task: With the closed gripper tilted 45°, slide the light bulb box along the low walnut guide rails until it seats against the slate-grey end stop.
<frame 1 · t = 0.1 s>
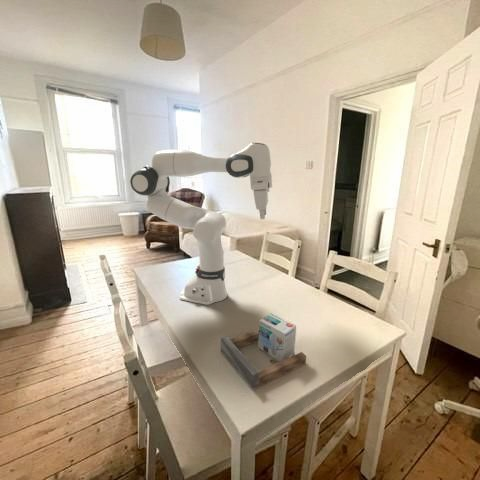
hand: (263, 216, 114), 39 cm above the table, tool pointing down, fingers open, 8 cm apart
light bulb box: (275, 351, 90), on the table
guide dock: (251, 361, 85), on the table
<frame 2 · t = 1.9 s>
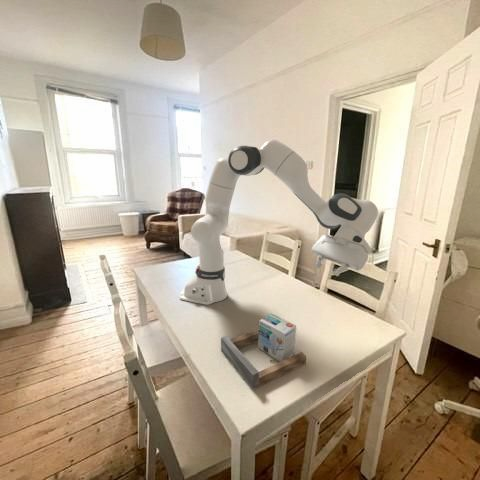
hand: (325, 270, 93), 25 cm above the table, tool tilted 45°, fingers open, 7 cm apart
nothing on the table moved.
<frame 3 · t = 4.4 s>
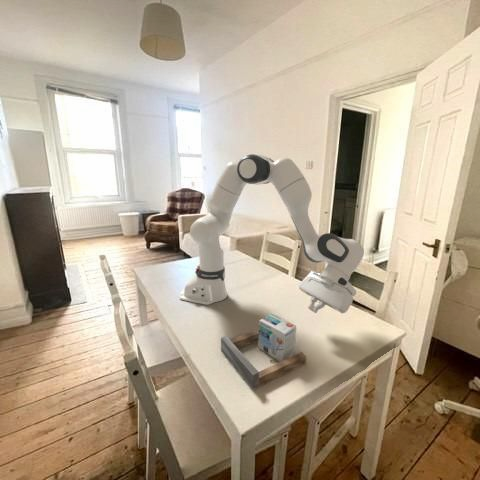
hand: (311, 310, 95), 11 cm above the table, tool tilted 45°, fingers closed
nothing on the table moved.
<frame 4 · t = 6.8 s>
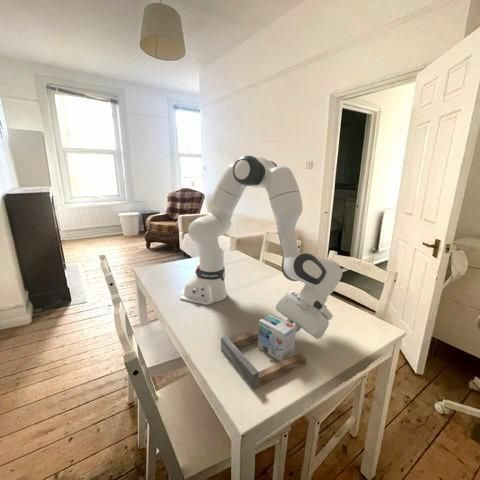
hand: (286, 334, 91), 5 cm above the table, tool tilted 45°, fingers closed
light bulb box: (275, 351, 90), on the table, touching gripper
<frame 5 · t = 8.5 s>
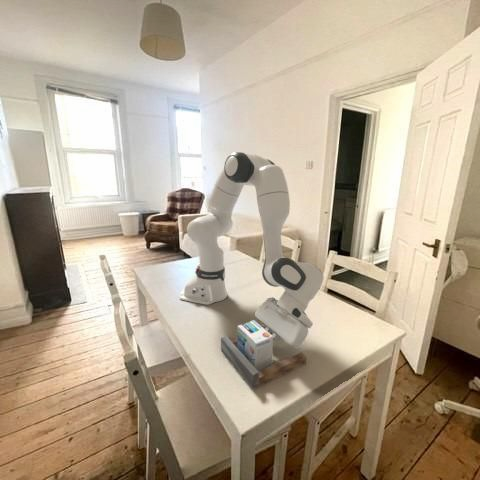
hand: (264, 343, 86), 5 cm above the table, tool tilted 45°, fingers closed, pressing on light bulb box
light bulb box: (254, 360, 85), on the table, touching gripper
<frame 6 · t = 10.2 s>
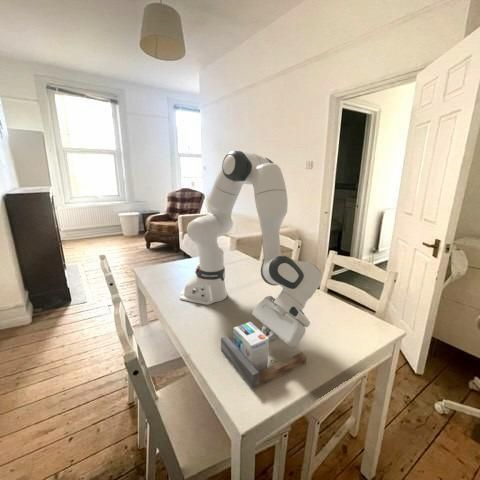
hand: (261, 341, 85), 6 cm above the table, tool tilted 45°, fingers closed
light bulb box: (249, 362, 85), on the table
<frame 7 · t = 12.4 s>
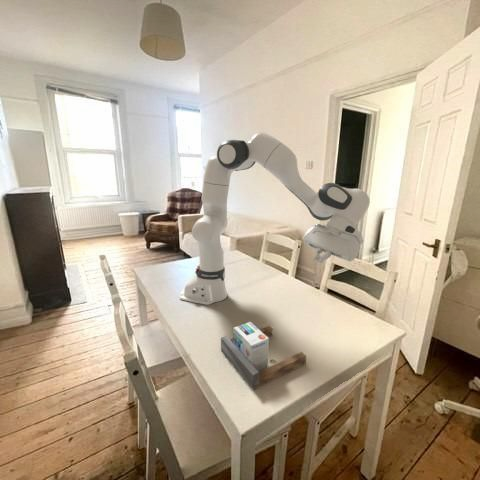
hand: (317, 261, 92), 28 cm above the table, tool tilted 45°, fingers closed
nothing on the table moved.
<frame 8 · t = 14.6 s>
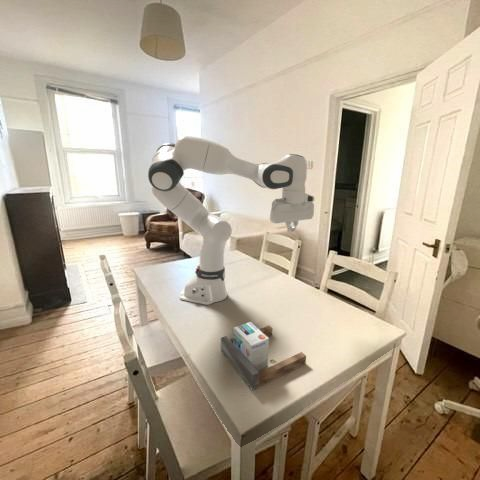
hand: (291, 231, 109), 34 cm above the table, tool pointing down, fingers closed
nothing on the table moved.
at the end: light bulb box 0.6 cm from the guide dock (horizontally); light bulb box tilted 0° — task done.
